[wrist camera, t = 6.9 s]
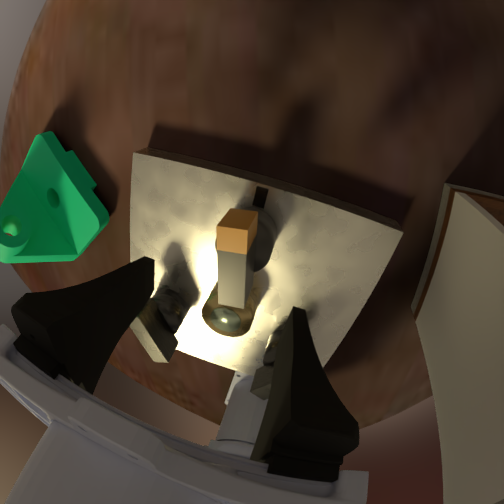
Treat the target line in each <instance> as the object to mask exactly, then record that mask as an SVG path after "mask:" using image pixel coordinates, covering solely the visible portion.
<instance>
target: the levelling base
mask: <svg viewBox="0 0 504 504" xmlns="http://www.w3.org/2000/svg"><path fill="white" fill-rule="evenodd" d="M246 207H253V208H258V209H260V210H263V211H264V212H266V213H267V214H268V215H269V216H270V217H271V218H272V219H273V221H274V222H275V224H276V227H277V239H276V242H275V245H274V248H273V251H272V254H271V257H270V260H269V262H268V263H267V265H266V266H265V267H264V268H262V269H261V270H259V271H257V272H254V278H253V286H252V289H251V292H250V294H249V297H248V300H247V302H246V305H245V308H244V309H242V308H236V307H231V306H226V305H221V304H218V272H217V252H216V249H215V240H216V226H217V224H218V223H219V222H220V221H221V219H222V218H223V217H224V216H225V214H226V213H227V212H228V211H229V209H230V208H234V209H241V208H246ZM402 234H403V231H402V229H401V227H400V225H399V224H398V222H397V221H396V220H394V219H391V218H388V217H386V216H383V215H381V214H378V213H375V212H373V211H370V210H368V209H365V208H362V207H359V206H357V205H354V204H351V203H348V202H345V201H343V200H340V199H337V198H334V197H331V196H328V195H325V194H322V193H319V192H316V191H313V190H310V189H307V188H304V187H301V186H297V185H294V184H291V183H288V182H284V181H281V180H278V179H274V178H271V177H268V176H264V175H261V174H257V173H253V172H250V171H246V170H243V169H239V168H235V167H231V166H227V165H224V164H220V163H216V162H212V161H208V160H203V159H199V158H195V157H191V156H186V155H182V154H177V153H173V152H168V151H163V150H158V149H153V148H148V147H147V148H144V149H141V150H139V151H136V152H133V163H132V178H131V202H130V256H131V262H133V261H135V260H137V259H139V258H141V257H144V256H146V257H149V258H152V259H154V260H155V276H154V291H153V293H152V295H151V297H150V298H149V300H148V302H147V303H146V305H145V306H144V308H143V309H142V310H141V312H140V313H139V314H138V316H137V317H136V318H135V319H134V321H133V322H132V323H131V325H130V327H131V329H132V330H133V332H134V333H135V335H136V336H137V338H138V339H139V341H140V342H141V344H142V345H143V347H144V348H145V349H146V351H147V352H148V354H149V355H150V357H151V358H152V359H153V361H154V362H165V363H168V362H169V360H170V358H171V357H172V355H173V353H174V351H175V349H177V350H180V351H182V352H185V353H187V354H190V355H193V356H195V357H198V358H201V359H203V360H206V361H209V362H212V363H215V364H218V365H220V366H223V367H226V368H229V369H232V370H235V371H239V372H242V373H245V374H248V375H251V376H254V379H253V382H252V386H251V389H250V392H251V393H252V394H254V395H256V396H257V397H259V398H260V399H262V400H266V399H268V398H269V394H270V389H271V383H272V376H273V369H274V363H275V356H276V350H277V346H278V342H279V339H280V335H281V332H282V330H283V328H284V325H285V323H286V321H287V319H288V317H289V314H290V312H291V310H292V307H293V306H295V307H298V308H301V309H305V310H306V312H307V318H308V323H309V327H310V332H311V335H312V339H313V342H314V346H315V349H316V352H317V355H318V357H319V360H320V363H321V365H322V367H324V366H325V364H326V363H327V362H328V360H329V359H330V357H331V356H332V354H333V353H334V351H335V350H336V349H337V347H338V346H339V344H340V343H341V341H342V340H343V338H344V337H345V335H346V334H347V332H348V330H349V329H350V327H351V326H352V324H353V323H354V321H355V319H356V318H357V316H358V315H359V313H360V311H361V310H362V308H363V306H364V305H365V303H366V301H367V300H368V298H369V296H370V295H371V293H372V291H373V289H374V288H375V286H376V284H377V282H378V281H379V279H380V277H381V275H382V273H383V271H384V270H385V268H386V266H387V264H388V262H389V260H390V258H391V256H392V254H393V253H394V251H395V249H396V247H397V245H398V243H399V241H400V239H401V237H402Z"/></svg>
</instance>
